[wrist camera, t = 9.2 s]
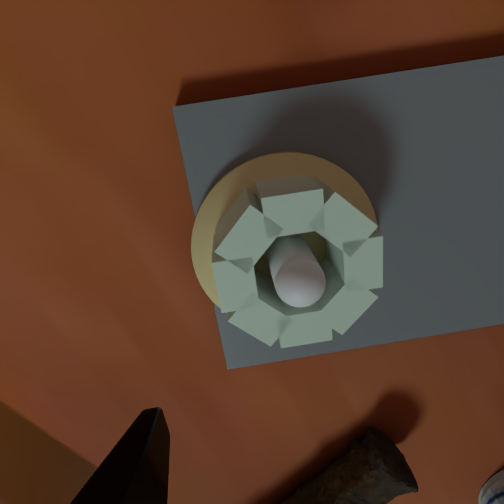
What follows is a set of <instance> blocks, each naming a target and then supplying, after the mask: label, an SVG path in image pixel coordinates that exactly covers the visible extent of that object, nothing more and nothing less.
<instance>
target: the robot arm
mask: <svg viewBox="0 0 504 504" xmlns="http://www.w3.org/2000/svg"><path fill="white" fill-rule="evenodd" d="M169 452H170V434H169V430H168V426H167V423H166V420H165V417H164V414H163V411H162V409H161V408H160V407H155V408H150V409H145V410H143V411H142V412H141V413H140V415H139V416H138V417H137V418H136V420H135V421H134V422H133V424H132V425H131V426H130V427H129V429H128V430H127V431H126V432H125V434H124V435H123V436H122V438H121V439H120V440H119V441H118V443H117V444H116V445H115V447H114V448H113V449H112V450H111V452H110V453H109V454H108V456H107V457H106V458H105V459H104V461H103V462H102V463H101V465H100V466H99V467H98V468H97V470H96V471H95V472H94V474H93V475H92V476H91V477H90V479H89V480H88V481H87V482H86V484H85V485H84V486H83V488H82V489H81V490H80V491H79V493H78V494H77V495H76V497H75V498H74V499H73V500H72V502H71V503H70V504H167V497H168V474H169Z"/></svg>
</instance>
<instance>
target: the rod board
mask: <svg viewBox="0 0 504 504" xmlns="http://www.w3.org/2000/svg"><path fill="white" fill-rule="evenodd" d="M172 109H173V114H174V119H175V124H176V128H177V133H178V138H179V142H180V147H181V152H182V157H183V161H184V166H185V171H186V175H187V180H188V185H189V190H190V194H191V199H192V204H193V208H194V213H195V218H196V220H195V223H194V227H193V232H192V240H191V254H192V261H193V266H194V269H195V273H196V276H197V278H198V280H199V282H200V284H201V286H202V288H203V289H204V291H205V292H206V294H207V295H208V296H209V298H210V299H211V300H212V301H213V303H214V308H215V312H216V317H217V322H218V326H219V331H220V336H221V341H222V345H223V350H224V355H225V359H226V364H227V369H235V368H241V367H247V366H253V365H259V364H265V363H271V362H277V361H283V360H289V359H295V358H301V357H307V356H313V355H319V354H325V353H331V352H337V351H343V350H349V349H355V348H361V347H367V346H373V345H379V344H385V343H391V342H397V341H403V340H409V339H415V338H421V337H427V336H433V335H439V334H445V333H451V332H457V331H463V330H470V329H476V328H482V327H488V326H494V325H500V324H504V56H498V57H491V58H485V59H478V60H472V61H465V62H459V63H452V64H446V65H439V66H433V67H427V68H420V69H414V70H407V71H401V72H394V73H388V74H381V75H375V76H368V77H362V78H355V79H349V80H342V81H336V82H329V83H323V84H316V85H310V86H303V87H297V88H291V89H284V90H278V91H271V92H265V93H258V94H252V95H245V96H239V97H232V98H226V99H219V100H213V101H206V102H200V103H193V104H187V105H180V106H174V107H172ZM302 174H306V175H308V176H309V177H310V178H311V179H312V180H313V179H314V178H315V177H317V178H318V179H320V180H321V181H322V182H323V183H325V184H326V185H327V186H329V187H330V188H331V189H332V190H334V191H335V192H336V193H337V194H339V195H340V196H341V197H342V198H344V199H345V200H346V201H347V202H349V203H350V204H351V205H352V206H354V207H355V208H356V209H357V210H359V211H360V212H361V213H362V214H364V215H365V216H366V217H367V218H369V219H370V220H371V221H372V222H374V223H375V224H376V225H377V226H378V227H377V228H376V229H375V230H376V231H378V232H379V233H380V234H381V235H382V236H383V287H382V288H375V289H372V290H373V291H374V292H375V293H376V295H377V296H378V298H377V299H376V300H375V301H374V302H373V304H372V305H371V306H370V307H369V308H368V309H367V310H366V311H365V312H364V313H363V314H362V315H361V316H360V317H359V318H358V319H357V320H356V321H355V322H354V323H353V324H352V325H351V326H350V328H349V329H348V330H347V331H346V332H345V333H344V334H343V335H341V334H340V333H338V332H337V331H335V330H334V329H332V339H333V340H330V341H324V342H318V343H312V344H306V345H299V346H293V347H287V348H281V347H280V342H279V338H278V339H277V340H276V341H275V342H274V343H273V345H272V346H271V347H270V346H269V345H267V344H265V343H263V342H262V341H260V340H258V339H257V338H255V337H253V336H252V335H250V334H248V333H247V332H245V331H243V330H241V329H240V328H238V327H236V326H235V325H233V324H231V323H230V322H228V314H227V312H225V313H221V308H220V303H219V298H218V293H217V288H216V283H215V278H214V273H213V268H212V249H213V237H215V228H216V226H217V225H218V223H219V222H220V221H221V219H222V218H223V217H224V215H225V214H226V213H227V211H228V210H229V209H230V207H231V206H232V205H233V203H234V202H235V201H236V199H237V198H238V197H239V195H240V194H241V193H242V191H243V190H244V188H245V187H246V188H247V189H248V190H250V191H251V192H252V193H254V194H255V195H256V189H255V182H257V181H263V180H269V179H276V178H282V177H289V176H295V175H302ZM325 257H326V254H325V238H324V237H323V236H321V235H320V234H319V233H317V232H316V231H312V232H306V233H299V234H293V235H287V236H280V237H277V238H276V239H275V240H274V241H273V243H272V244H271V245H270V246H269V248H268V249H267V250H266V251H265V252H264V254H263V255H262V256H261V257H260V259H259V260H258V261H257V262H256V264H255V265H254V269H255V270H257V271H258V272H260V273H261V274H263V275H264V276H266V277H267V278H269V279H270V280H272V281H273V282H274V286H275V289H276V292H277V294H278V296H279V297H280V298H281V299H282V300H283V301H284V302H285V303H286V304H288V305H290V306H293V307H307V306H310V305H312V304H314V303H315V302H317V301H318V300H319V299H320V298H321V296H322V294H323V292H324V290H325V285H326V280H325V275H324V272H323V270H322V268H321V266H320V265H319V264H320V262H321V261H322V260H323V259H324V258H325Z"/></svg>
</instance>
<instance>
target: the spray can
mask: <svg viewBox="0 0 504 504" xmlns="http://www.w3.org/2000/svg"><path fill="white" fill-rule="evenodd" d="M478 497H479V504H504V470H502V471H500V472H498V473H497V474H495V475H494V476H492V477H491V478H490V479H489V480H488V481H487V482H486V483H485V484H484V486H483V487H482V489H481V491H480V493H479V496H478Z"/></svg>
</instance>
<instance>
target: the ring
mask: <svg viewBox="0 0 504 504" xmlns="http://www.w3.org/2000/svg"><path fill="white" fill-rule="evenodd" d="M255 189H256V195H255V194H254V193H252V192H251V191H250V190H248V189H247V188H246V187H245V188H244V190H243V191H242V193H241V194H240V195H239V197H238V198H237V199H236V201H235V202H234V203H233V205H232V206H231V207H230V209H229V210H228V211H227V213H226V214H225V215H224V217H223V218H222V219H221V221H220V222H219V223H218V225H217V226H216V228H215V237H213V249H212V268H213V273H214V278H215V283H216V288H217V293H218V298H219V303H220V308H221V313H225V312H227V314H228V322H230V323H231V324H233V325H235V326H236V327H238V328H240V329H241V330H243V331H245V332H247V333H248V334H250V335H252V336H253V337H255V338H257V339H258V340H260V341H262V342H263V343H265V344H267V345H269V346H270V347H271V346H272V345H273V343H274V342H275V341H276V340H277V339H278V338H279V342H280V347H281V348H287V347H293V346H299V345H306V344H312V343H318V342H324V341H330V340H333V339H332V329H334V330H335V331H337V332H338V333H340V334H341V335H343V334H344V333H345V332H346V331H347V330H348V329H349V328H350V326H351V325H352V324H353V323H354V322H355V321H356V320H357V319H358V318H359V317H360V316H361V315H362V314H363V313H364V312H365V311H366V310H367V309H368V308H369V307H370V306H371V305H372V304H373V302H374V301H375V300H376V299H377V298H378V296H377V295H376V293H375V292H374V291H373V290H372V289H375V288H382V287H383V236H382V235H381V234H380V233H379V232H378V231H376V230H375V229H376V228H377V227H378V226H377V225H376V224H375V223H374V222H372V221H371V220H370V219H369V218H367V217H366V216H365V215H364V214H362V213H361V212H360V211H359V210H357V209H356V208H355V207H354V206H352V205H351V204H350V203H349V202H347V201H346V200H345V199H344V198H342V197H341V196H340V195H339V194H337V193H336V192H335V191H334V190H332V189H331V188H330V187H329V186H327V185H326V184H325V183H323V182H322V181H321V180H320V179H318V178H317V177H315V178H314V179H313V180H312V179H311V178H310V177H309V176H308V175H306V174H302V175H295V176H289V177H282V178H276V179H269V180H263V181H257V182H255ZM312 231H316V232H317V233H319V234H320V235H321V236H323V237H324V238H325V254H326V257H325V258H324V259H323V260H322V261H321V262H320V264H319V265H320V266H321V268H322V270H323V272H324V275H325V280H326V285H325V290H324V292H323V294H322V296H321V298H320V299H319V300H318V301H317V302H315V303H314V304H312V305H310V306H307V307H293V306H290V305H288V304H286V303H285V302H284V301H283V300H282V299H281V298H280V297H279V296H278V294H277V292H276V289H275V286H274V282H273V281H272V280H270V279H269V278H267V277H266V276H264V275H263V274H261V273H260V272H258V271H257V270H255V269H254V265H255V264H256V262H257V261H258V260H259V259H260V257H261V256H262V255H263V254H264V252H265V251H266V250H267V249H268V248H269V246H270V245H271V244H272V243H273V241H274V240H275V239H276V238H277V237H280V236H287V235H293V234H299V233H306V232H312Z"/></svg>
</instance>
